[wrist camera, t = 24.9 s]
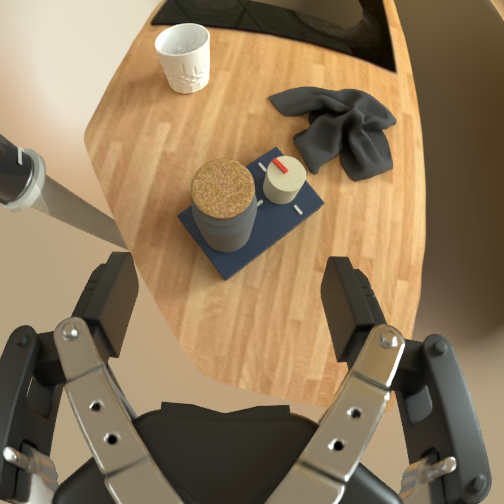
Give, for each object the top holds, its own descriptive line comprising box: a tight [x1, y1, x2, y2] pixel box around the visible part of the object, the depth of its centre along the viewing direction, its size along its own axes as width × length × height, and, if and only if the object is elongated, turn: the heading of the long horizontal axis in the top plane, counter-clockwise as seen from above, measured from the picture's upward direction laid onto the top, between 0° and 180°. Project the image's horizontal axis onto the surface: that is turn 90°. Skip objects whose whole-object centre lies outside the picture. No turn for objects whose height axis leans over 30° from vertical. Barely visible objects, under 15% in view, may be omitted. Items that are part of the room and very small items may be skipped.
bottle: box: [191, 159, 257, 253], centre depth 29 cm, size 6×6×15 cm
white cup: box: [155, 24, 210, 94], centre depth 37 cm, size 8×8×10 cm
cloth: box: [269, 87, 396, 181], centre depth 39 cm, size 22×19×6 cm
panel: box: [177, 147, 324, 281], centre depth 38 cm, size 17×10×3 cm, turn 128°
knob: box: [263, 156, 306, 204], centre depth 35 cm, size 4×4×5 cm
